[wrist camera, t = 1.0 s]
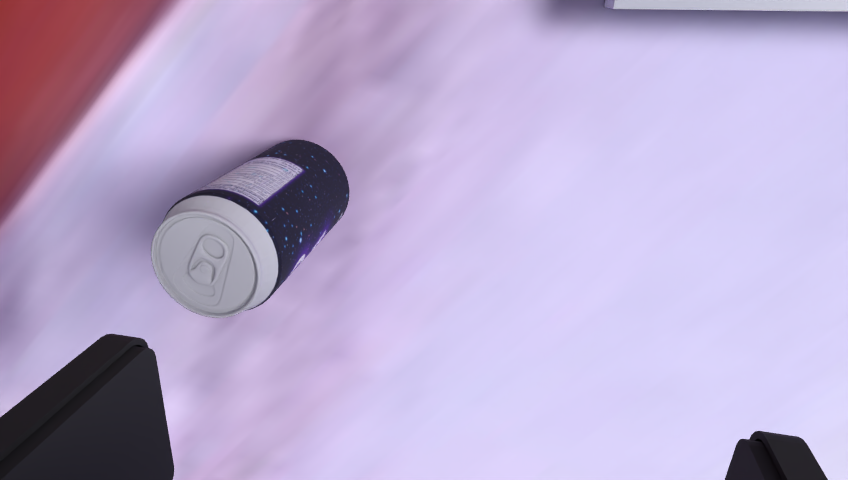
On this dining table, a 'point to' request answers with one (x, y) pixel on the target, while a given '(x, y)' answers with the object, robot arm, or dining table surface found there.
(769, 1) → the trap track
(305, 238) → the beverage can
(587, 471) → the dining table surface
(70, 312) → the dining table surface
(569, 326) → the dining table surface
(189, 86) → the dining table surface
